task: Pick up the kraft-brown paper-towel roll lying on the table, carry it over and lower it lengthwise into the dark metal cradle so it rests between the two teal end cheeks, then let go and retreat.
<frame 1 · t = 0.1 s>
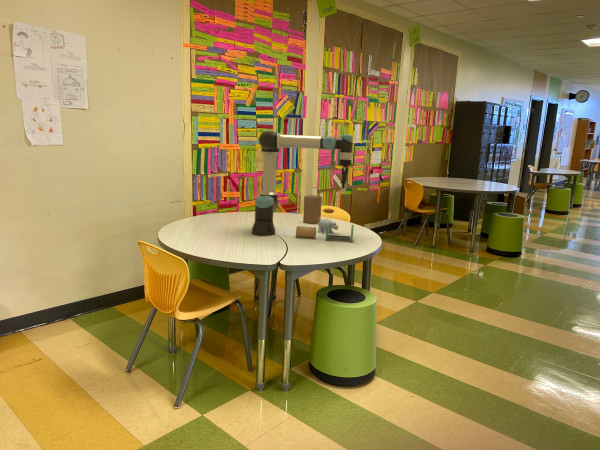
hand: (343, 192, 278), 28 cm above the table, fingers open, 13 cm apart
hippopotamus toy: (327, 232, 288), on the table
holder: (339, 239, 268), on the table
wooden block: (311, 222, 320), on the table
roll: (305, 237, 270), on the table
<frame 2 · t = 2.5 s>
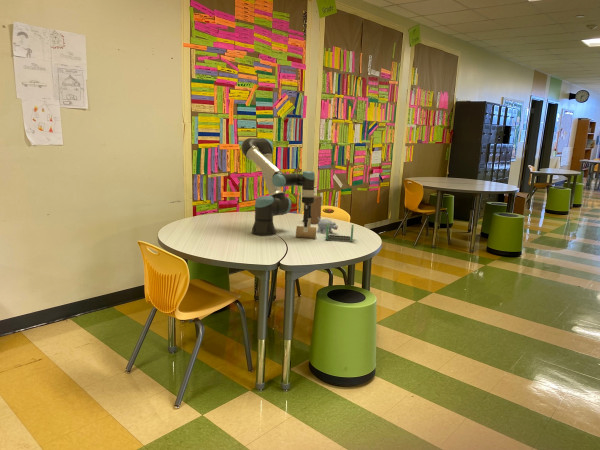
hand: (306, 230, 269), 5 cm above the table, fingers open, 13 cm apart
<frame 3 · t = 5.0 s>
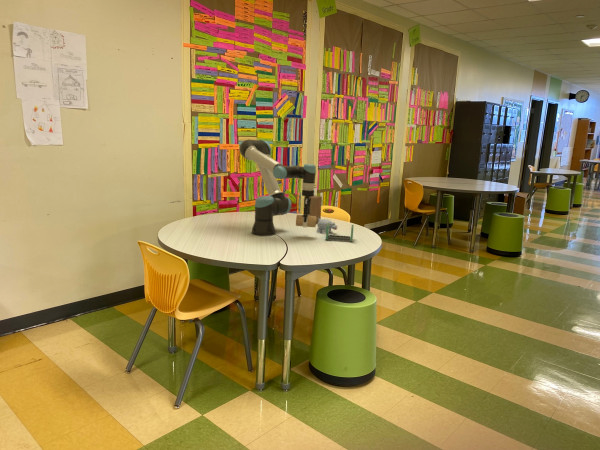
hand: (305, 225, 269), 7 cm above the table, fingers closed on roll, 7 cm apart
roll: (305, 226, 269), point 7 cm above the table, touching gripper
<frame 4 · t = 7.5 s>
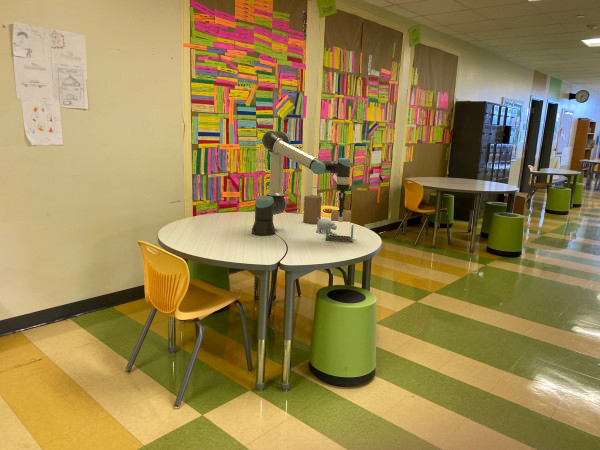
hand: (340, 220, 266), 12 cm above the table, fingers closed on roll, 7 cm apart
roll: (340, 221, 266), point 12 cm above the table, touching gripper
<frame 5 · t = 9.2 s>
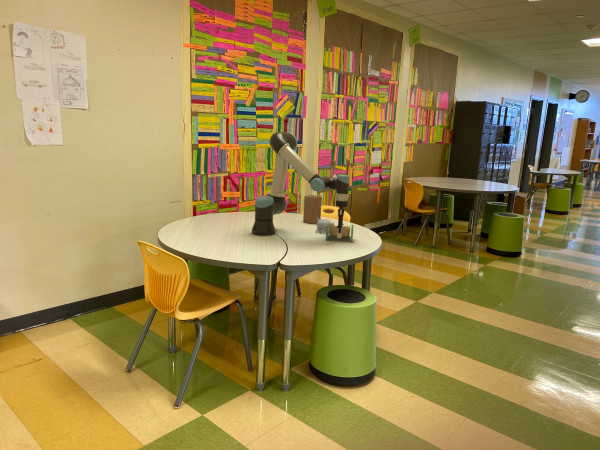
hand: (339, 236, 268), 2 cm above the table, fingers closed on roll, 7 cm apart
roll: (339, 237, 268), point 2 cm above the table, touching gripper
when the fingers open (2 cm above the table, at t = 10.0 s): roll stays where it is, resting on holder.
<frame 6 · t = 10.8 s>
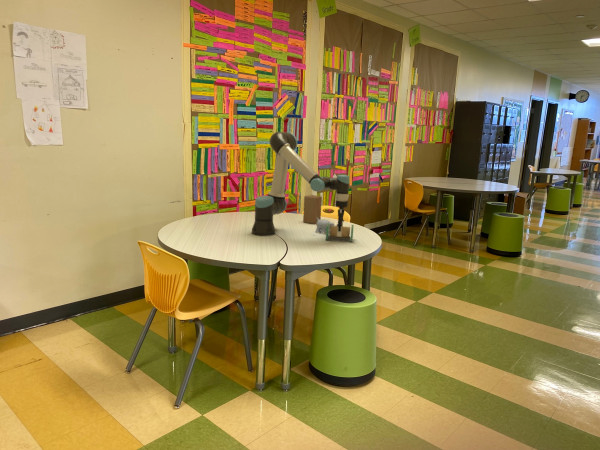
hand: (339, 234, 267), 4 cm above the table, fingers open, 13 cm apart
roll: (339, 237, 268), point 1 cm above the table, touching holder
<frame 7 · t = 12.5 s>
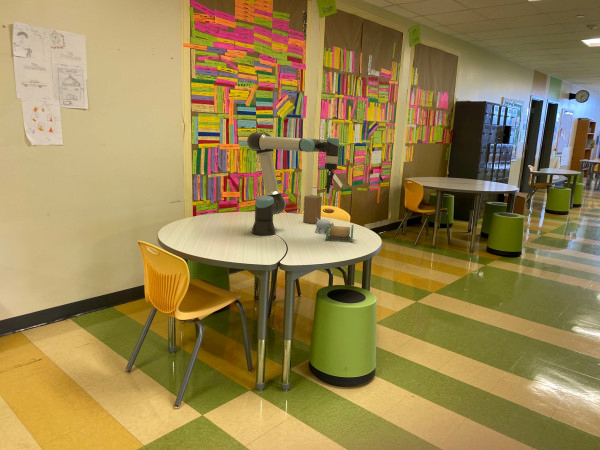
hand: (328, 197, 268), 26 cm above the table, fingers open, 13 cm apart
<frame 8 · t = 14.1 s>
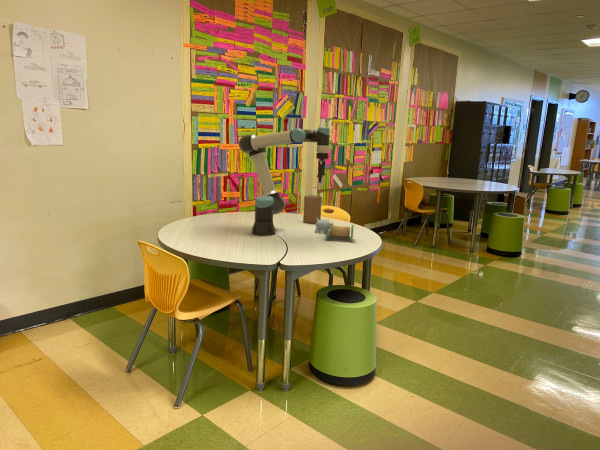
hand: (320, 186, 270), 32 cm above the table, fingers open, 13 cm apart
at the end: roll 0.2 cm off-centre on the holder, point 1.4 cm above the holder's base; the gripper is holding nothing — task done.
